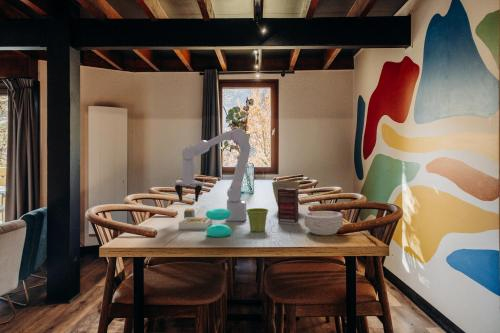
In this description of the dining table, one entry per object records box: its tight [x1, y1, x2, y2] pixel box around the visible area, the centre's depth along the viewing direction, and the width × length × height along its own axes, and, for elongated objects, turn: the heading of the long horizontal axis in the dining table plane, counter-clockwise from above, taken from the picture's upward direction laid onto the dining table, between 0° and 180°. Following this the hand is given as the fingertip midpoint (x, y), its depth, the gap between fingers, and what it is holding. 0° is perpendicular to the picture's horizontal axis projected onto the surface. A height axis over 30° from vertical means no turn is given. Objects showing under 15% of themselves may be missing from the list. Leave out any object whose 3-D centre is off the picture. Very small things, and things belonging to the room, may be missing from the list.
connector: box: [183, 208, 196, 219], centre depth 168 cm, size 4×4×6 cm
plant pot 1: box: [246, 207, 269, 233], centre depth 147 cm, size 9×9×9 cm
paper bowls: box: [304, 210, 344, 236], centre depth 142 cm, size 15×15×8 cm
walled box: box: [178, 216, 213, 231], centre depth 156 cm, size 12×12×3 cm
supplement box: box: [277, 188, 300, 225], centre depth 161 cm, size 9×5×16 cm, turn 65°
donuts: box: [205, 208, 232, 238], centre depth 141 cm, size 10×10×10 cm
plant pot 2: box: [271, 180, 300, 207], centre depth 192 cm, size 15×15×16 cm
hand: (188, 201), depth 167 cm, fingers open, 7 cm apart
